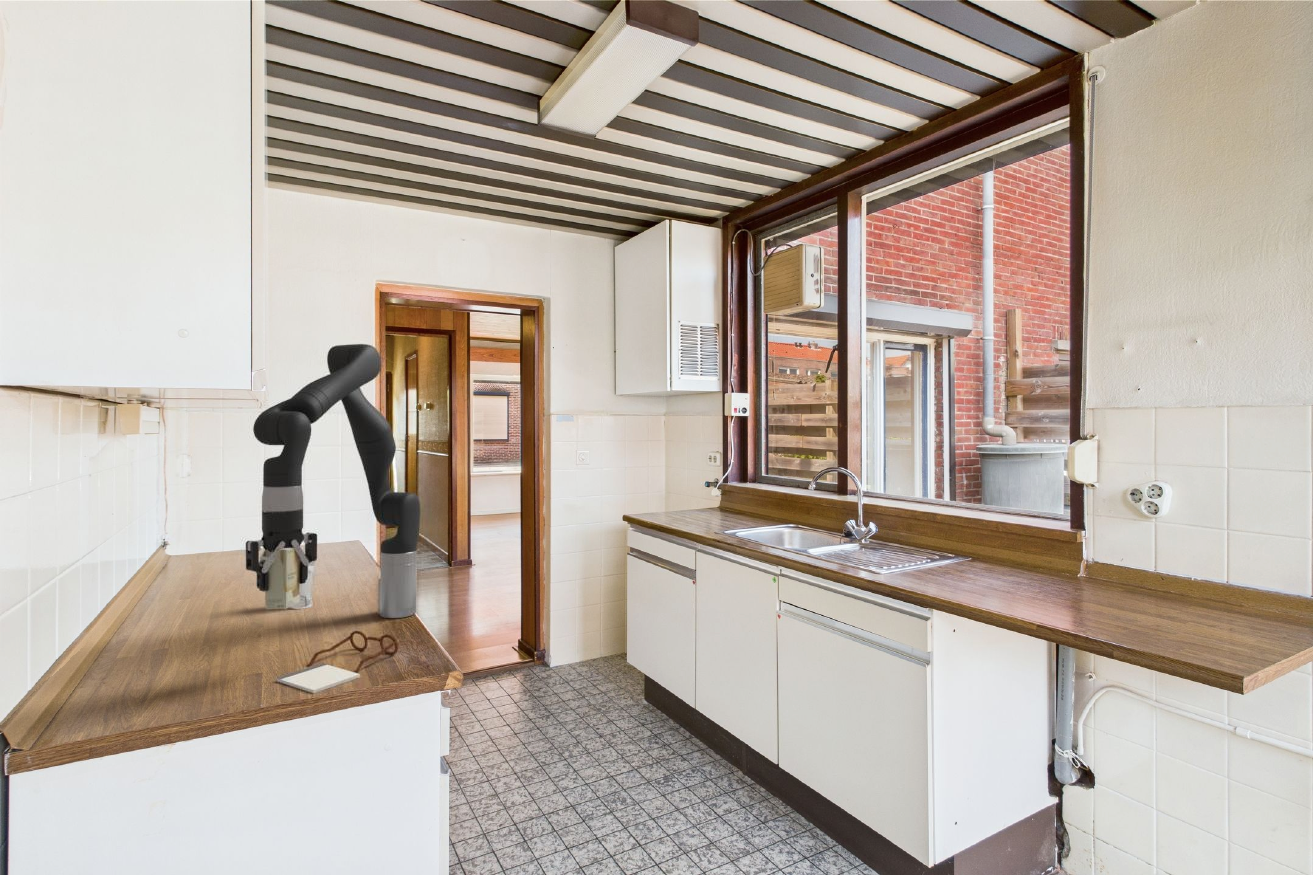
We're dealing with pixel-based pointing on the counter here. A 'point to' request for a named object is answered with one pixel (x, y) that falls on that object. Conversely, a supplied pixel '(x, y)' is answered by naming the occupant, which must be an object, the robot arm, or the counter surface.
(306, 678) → the board
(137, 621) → the counter surface
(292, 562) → the skincare box
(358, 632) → the glasses
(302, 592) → the beer glass
